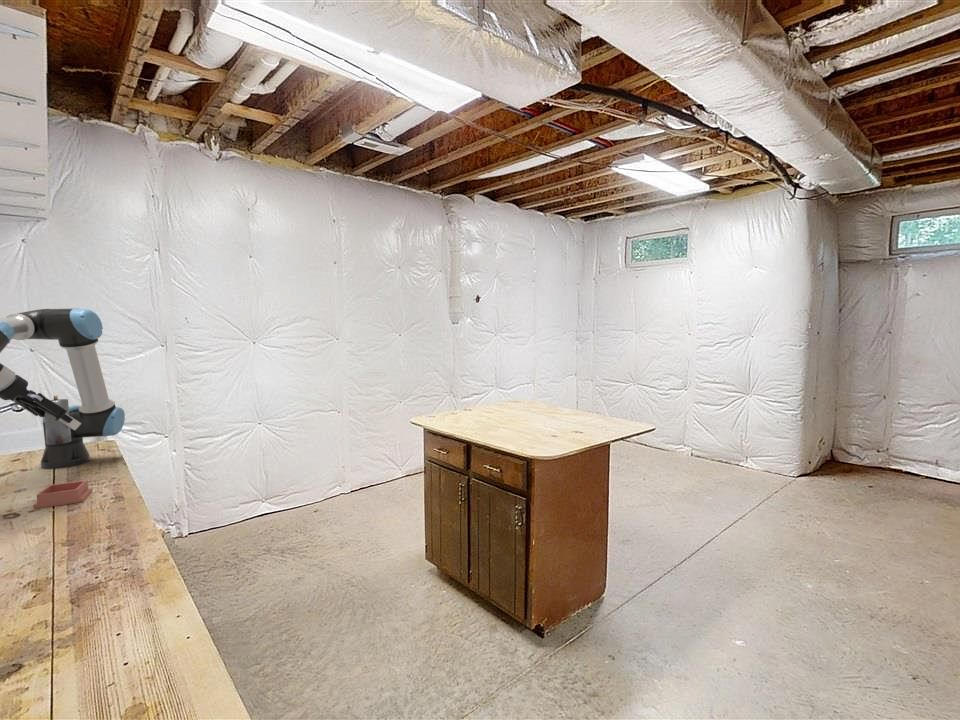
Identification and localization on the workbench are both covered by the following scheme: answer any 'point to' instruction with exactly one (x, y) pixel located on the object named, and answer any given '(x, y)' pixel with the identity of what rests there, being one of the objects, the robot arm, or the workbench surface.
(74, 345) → the robot arm
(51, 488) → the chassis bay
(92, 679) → the workbench surface
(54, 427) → the motor housing
